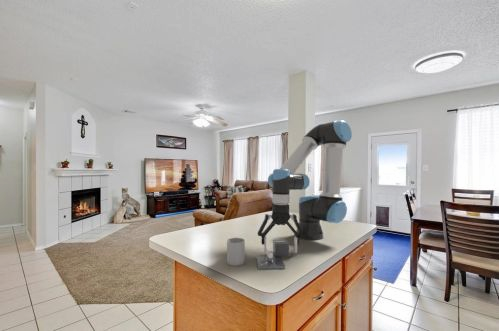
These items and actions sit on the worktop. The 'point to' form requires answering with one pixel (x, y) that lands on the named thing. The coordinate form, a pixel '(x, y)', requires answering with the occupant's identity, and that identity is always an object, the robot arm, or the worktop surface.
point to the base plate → (270, 262)
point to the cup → (235, 251)
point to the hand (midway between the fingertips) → (280, 251)
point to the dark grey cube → (281, 248)
